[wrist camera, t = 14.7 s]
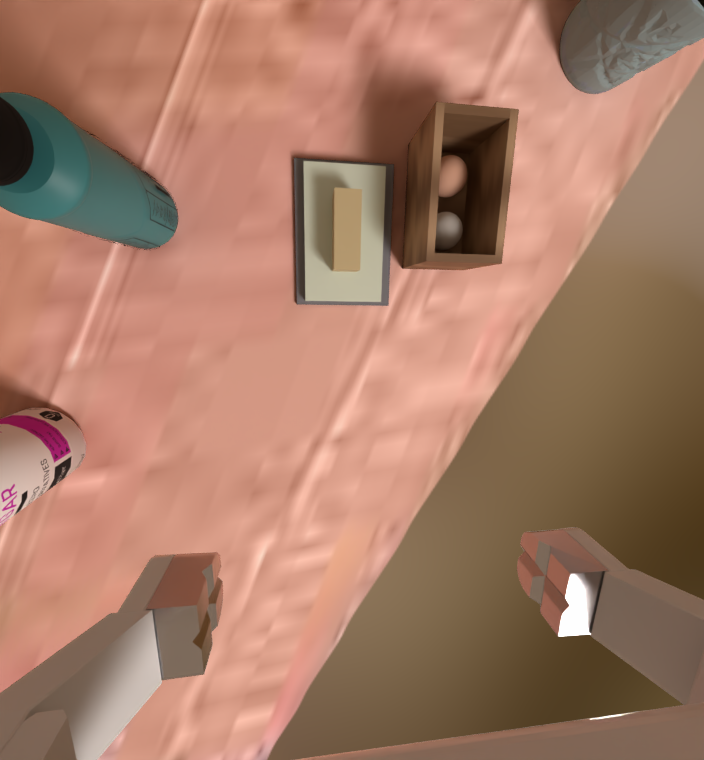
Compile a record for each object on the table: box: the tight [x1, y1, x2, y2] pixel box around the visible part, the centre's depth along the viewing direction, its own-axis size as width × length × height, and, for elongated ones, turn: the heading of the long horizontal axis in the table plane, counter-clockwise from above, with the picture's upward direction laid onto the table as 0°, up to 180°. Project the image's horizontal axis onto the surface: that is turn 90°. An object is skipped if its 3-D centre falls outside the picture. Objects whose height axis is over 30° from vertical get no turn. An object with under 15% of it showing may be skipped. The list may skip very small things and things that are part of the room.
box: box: [402, 102, 519, 270], centre depth 33 cm, size 12×7×8 cm, turn 179°
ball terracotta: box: [439, 155, 467, 197], centre depth 34 cm, size 4×4×4 cm
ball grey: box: [435, 212, 463, 250], centre depth 35 cm, size 4×4×4 cm
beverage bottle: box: [0, 92, 178, 250], centre depth 24 cm, size 6×7×20 cm
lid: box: [304, 161, 386, 302], centre depth 34 cm, size 13×8×4 cm, turn 179°
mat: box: [294, 158, 394, 306], centre depth 36 cm, size 14×10×1 cm
